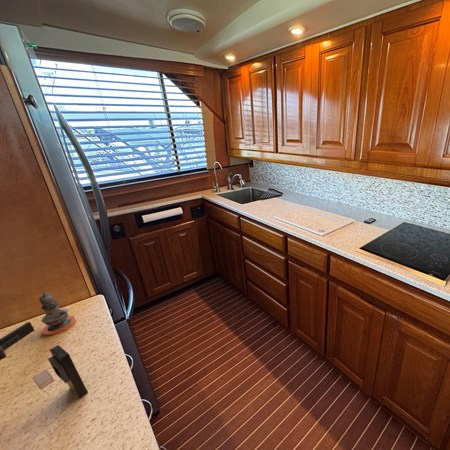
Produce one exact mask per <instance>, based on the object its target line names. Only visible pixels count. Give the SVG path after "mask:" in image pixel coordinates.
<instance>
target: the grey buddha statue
mask: <svg viewBox="0 0 450 450" xmlns="http://www.w3.org/2000/svg"><path fill="white" fill-rule="evenodd" d="M38 300H39V302H40V304H41V310H43V311H44V313H45V315H44V316H43V317H42V318H41V320H40V321H41V323H42V324H45V326H46V325H49V327H48V331H56V330H59V329H61V328H63V327H65V326H67V325H68V324H69V323H70V322H71V319H70V318H67V316H69V309H67V308H61V307H60V305H59V301H58V300H56V298H55V296H54V294H53V293H50V292H49V293H47V292H45V291H43V292H42V295H41V296H39V299H38Z"/></svg>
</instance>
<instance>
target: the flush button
mask: <svg viewBox="0 0 450 450" xmlns="http://www.w3.org/2000/svg"><path fill="white" fill-rule="evenodd" d="M32 380H33V382H34V383H35V385H36V386H37V388H38V389H39V390H40V391H41V390H44V388H47V387H48V386H49V385H51V384H53V383H54V382H55V379H54V378H53V376H52V375H51V373H50V372H49V371H48V370H47V369H44V370H42V371H41V372H39V373H38V374H36V375H35V376H33V377H32Z"/></svg>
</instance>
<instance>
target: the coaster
mask: <svg viewBox="0 0 450 450" xmlns="http://www.w3.org/2000/svg"><path fill="white" fill-rule="evenodd" d="M67 318H70V319H71V322H70V323H69V324H68V325H67V326H65V327H63V328H61V329H59V330H56V331H48V327H49V325H46V324H45V326H44V327H43V328H42V331H41V333H42V334H43V336H47V337H48V336H54V335H57V334H61V333H63V332H65V331H67V330H69V329H70V328H71V327H73V326H74V325H75V324H76V323H77V321H78V320H77V317H76V316H74V315H68V316H67Z"/></svg>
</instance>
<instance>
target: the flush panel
mask: <svg viewBox="0 0 450 450" xmlns="http://www.w3.org/2000/svg"><path fill="white" fill-rule="evenodd" d="M49 352H50V354H51V356H50V357H48V358H47V360H48V362H49V364H50V366H51V367H52V369H53V371H54V373H55V375H56V377H57V376H58V378H59V379H60V380H61V381H62V382H63V383H64V384H67V385H68V387H69V389H70V390H71V391H72V392H73V394H75V395H76V396H77V397H78V398H79V399H81V398H83V397H84V396H86V395H87V394H88V393H89V392H88V390H87V387H86V385H85V384H84V381H83V379H82V378H81V375H80V373H79V372H78V370H77V368H76V365H75V364H74V363H75V362H74V361H73V359H72V357H71V356H70V353H68V352H67V351H66V350H65V349H64V348H63V347H62V346H60V344H56V345H55V346H54V347H52V348H50V349H49Z"/></svg>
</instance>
